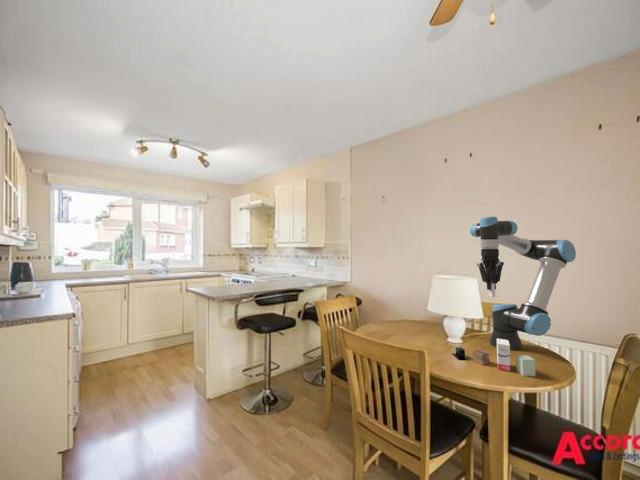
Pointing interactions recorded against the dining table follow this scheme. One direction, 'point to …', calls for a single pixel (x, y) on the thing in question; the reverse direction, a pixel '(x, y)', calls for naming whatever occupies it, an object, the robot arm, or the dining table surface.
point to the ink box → (503, 355)
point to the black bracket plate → (460, 354)
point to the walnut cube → (481, 357)
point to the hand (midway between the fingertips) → (491, 296)
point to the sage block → (525, 365)
